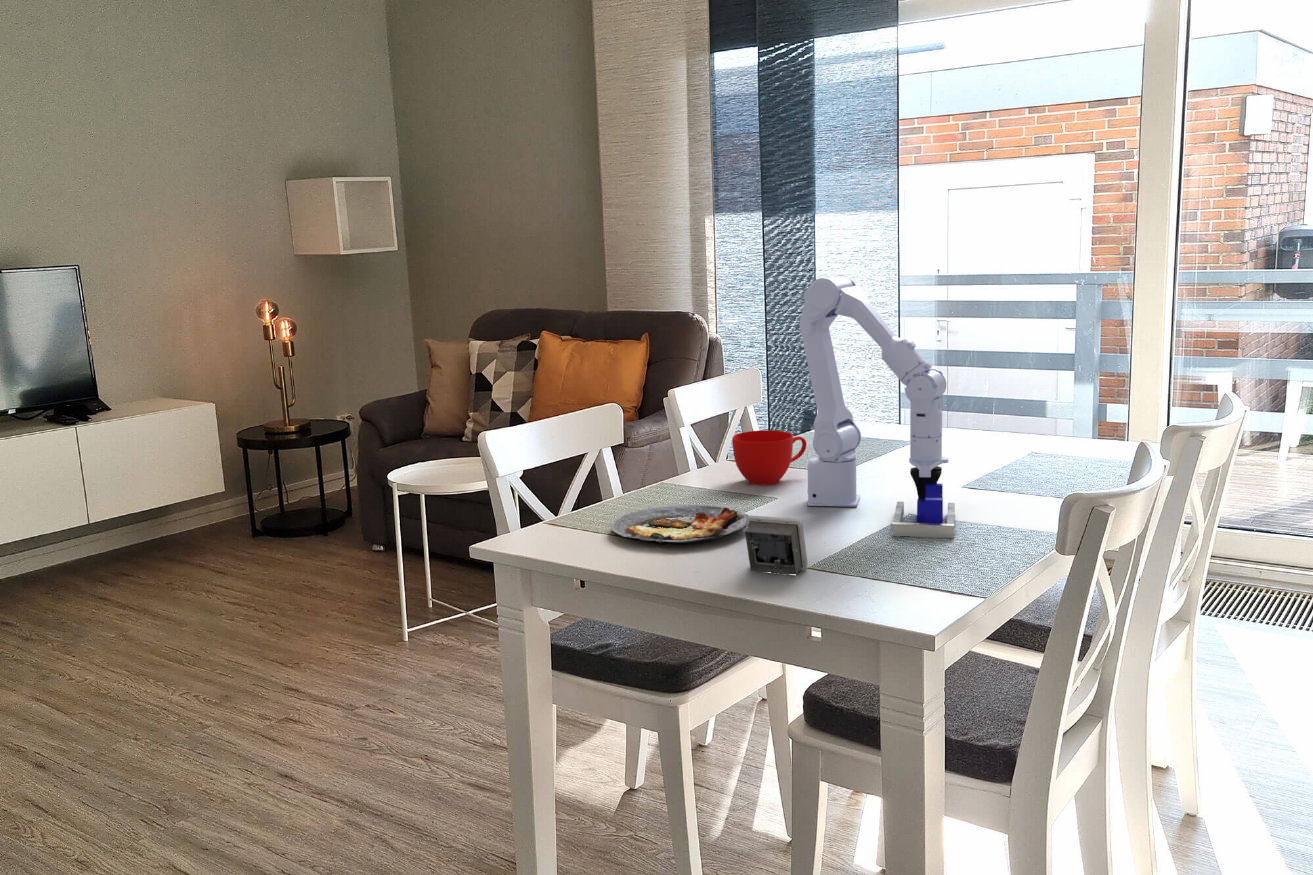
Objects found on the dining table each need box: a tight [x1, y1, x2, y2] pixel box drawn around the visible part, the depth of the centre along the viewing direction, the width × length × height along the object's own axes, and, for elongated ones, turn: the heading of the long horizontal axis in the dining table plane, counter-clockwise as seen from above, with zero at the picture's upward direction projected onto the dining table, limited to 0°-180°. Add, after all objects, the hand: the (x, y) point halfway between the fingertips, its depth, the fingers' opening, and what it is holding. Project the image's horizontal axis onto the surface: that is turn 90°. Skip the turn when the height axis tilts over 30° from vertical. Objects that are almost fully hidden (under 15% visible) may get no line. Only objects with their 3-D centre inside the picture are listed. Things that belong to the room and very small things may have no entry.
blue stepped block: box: [916, 483, 944, 524], centre depth 195 cm, size 12×4×6 cm, turn 166°
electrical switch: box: [744, 515, 808, 576], centre depth 172 cm, size 9×5×9 cm, turn 65°
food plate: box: [611, 504, 750, 544], centre depth 198 cm, size 25×23×4 cm
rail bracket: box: [891, 501, 956, 539], centre depth 194 cm, size 10×15×2 cm
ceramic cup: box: [731, 430, 807, 486], centre depth 232 cm, size 13×17×10 cm
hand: (925, 506), depth 203 cm, fingers closed
